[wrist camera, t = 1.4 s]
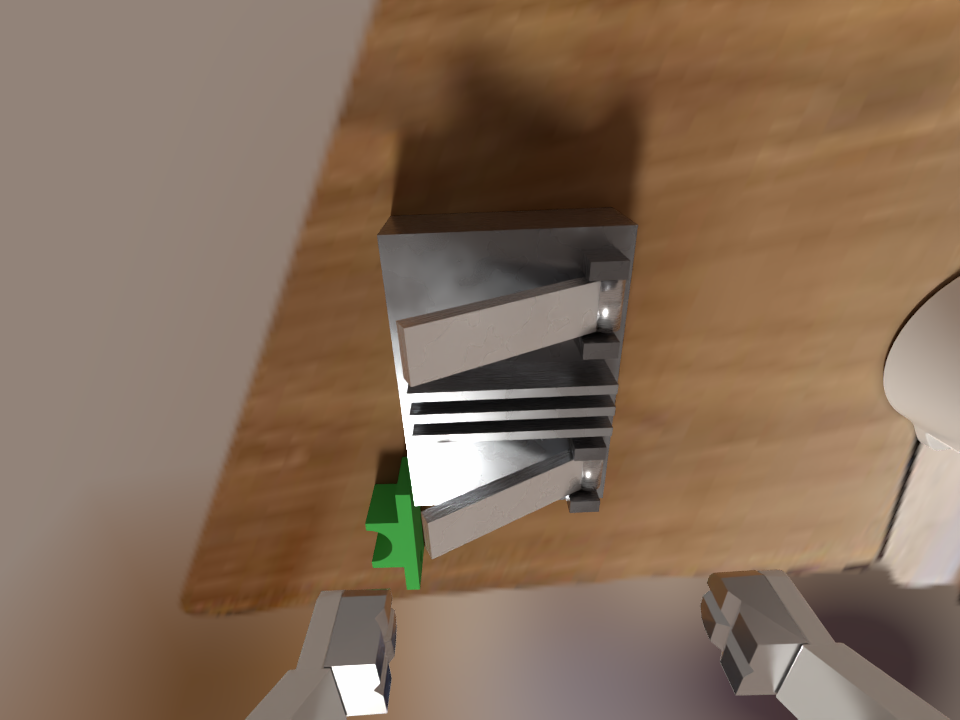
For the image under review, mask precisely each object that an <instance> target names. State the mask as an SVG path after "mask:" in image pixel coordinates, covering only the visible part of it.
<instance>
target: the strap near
mask: <svg viewBox="0 0 960 720" xmlns="http://www.w3.org/2000/svg"><path fill="white" fill-rule="evenodd" d="M625 283H626V280H609V281H589V280H588V279H587V277H586V276H585V277H581V278H577V279H572V280H568V281H564V282H560V283H555V284H551V285H547V286H543V287H538V288H534V289H530V290H525V291H521V292H517V293H513V294H508V295H504V296H500V297H496V298H491V299H487V300H483V301H478V302H474V303H470V304H466V305H461V306H457V307H453V308H449V309H444V310H440V311H436V312H432V313H427V314H423V315H419V316H414V317H410V318H406V319H402V320H397V321H396V325H397V333H398V340H399V348H400V355H401V363H402V371H403V378H404V379H405V380H406V382H407V383H408V384H409V385H410V387H413V386H417V385H420V384H423V383H427V382H430V381H433V380H437V379H440V378H443V377H447V376H450V375H453V374H457V373H460V372H463V371H467V370H470V369H473V368H477V367H480V366H483V365H487V364H490V363H493V362H497V361H500V360H503V359H507V358H510V357H513V356H517V355H520V354H523V353H527V352H530V351H533V350H537V349H540V348H543V347H547V346H550V345H553V344H557V343H560V342H563V341H567V340H570V339H573V338H576V337H580V336H583V335H586V334H590V333H593V332H600V333H613V332H616V331H618V330H619V329H620V324H621V315H622V307H623V299H624V291H625Z"/></svg>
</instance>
